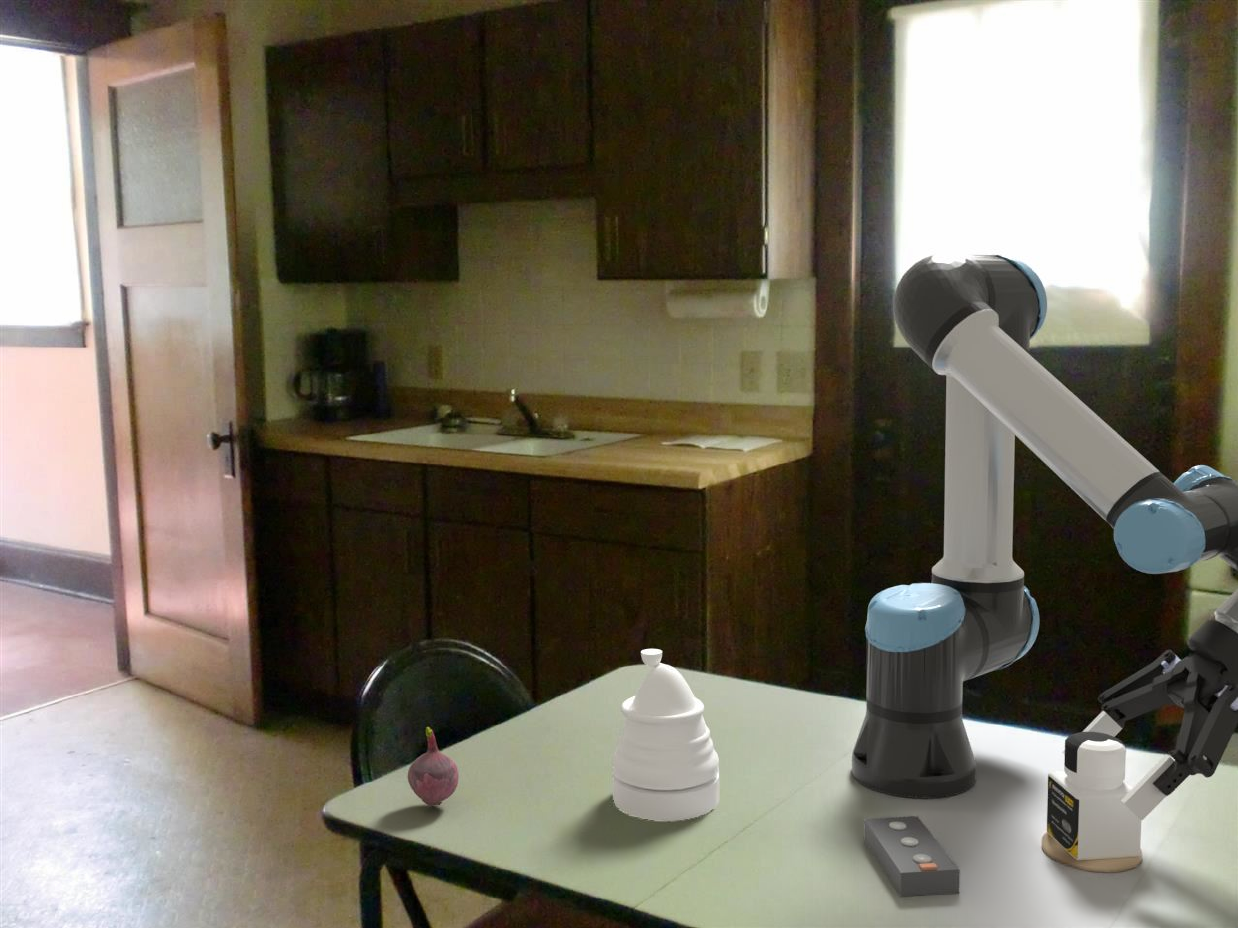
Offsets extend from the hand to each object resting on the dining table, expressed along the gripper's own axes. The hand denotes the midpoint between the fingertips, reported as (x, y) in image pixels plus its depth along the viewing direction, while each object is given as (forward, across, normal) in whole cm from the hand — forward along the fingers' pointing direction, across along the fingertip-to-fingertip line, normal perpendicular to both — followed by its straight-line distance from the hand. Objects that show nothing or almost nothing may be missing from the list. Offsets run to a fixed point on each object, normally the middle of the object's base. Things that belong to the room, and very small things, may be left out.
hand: (1099, 784), depth 127 cm
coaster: (+6, 0, -5) cm, 8 cm away
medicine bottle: (+5, 0, -5) cm, 7 cm away
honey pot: (+37, +20, +26) cm, 49 cm away
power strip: (+20, -1, +10) cm, 22 cm away
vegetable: (+56, +20, +46) cm, 75 cm away
